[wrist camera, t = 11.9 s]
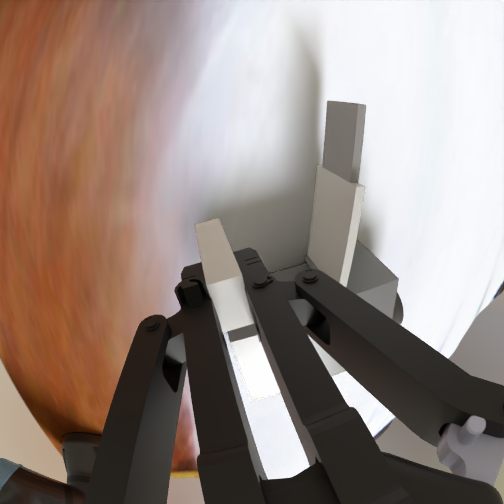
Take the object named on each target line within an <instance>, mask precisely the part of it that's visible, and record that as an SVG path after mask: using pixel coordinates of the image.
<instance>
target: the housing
mask: <svg viewBox="0 0 504 504" xmlns="http://www.w3.org/2000/svg"><path fill="white" fill-rule="evenodd" d="M306 269H311V268H310V266H309V265H308V264H307V263H305V264H302V265H298V266H295V267H291V268H288V269H284V270H280V271H277V272H273V273H270V274H269V275H272V276H273V277H274V278H275V279H276V280H277V281H295V276H296V275H297V274H298V273H299V272H301V271H303V270H306ZM398 280H399V279H398V278H397V277H396V276H395V275H394V274H393V273H392V272H391V271H390V270H389V269H388V268H387V267H386V266H385V265H384V264H383V263H382V262H381V261H380V260H379V259H378V258H377V257H376V256H375V255H373V254H372V253H371V252H370V251H369V250H368V249H367V248H366V247H365V246H364V245H363V244H362V243H361V242H359V241H358V240H356V244H355V249H354V254H353V259H352V264H351V269H350V273H349V278H348V282H347V286H346V288H348V289H349V290H350V291H352V292H353V293H355V294H356V295H358V296H359V297H361V298H362V299H364V300H365V301H366V302H368V303H369V304H371V305H372V306H374V307H375V308H377V309H378V310H379V311H381V312H382V313H384V314H385V315H387V316H388V317H390V318H391V319H392V320H394V321H395V322H397V323H398V324H401V323H402V320H403V306H402V302H401V299H400V297H399V295H398V293H397V287H398ZM227 332H228V336H229V340H230V344H231V347H232V350H233V353H234V355H235V358H236V361H237V364H238V367H239V370H240V373H241V375H242V378H243V381H244V384H245V387H246V389H247V392H248V395H249V398H250V400H251V402H252V401H256V400H259V399H263V398H267V397H270V396H273V395H277V394H280V393H281V392H280V390H279V387H278V385H277V382H276V380H275V377H274V375H273V372H272V369H271V367H270V364H269V362H268V359H267V357H266V354H265V352H264V349H263V346H262V344H261V342H259V339H258V335H257V331H256V327H255V323H254V324H251V325H247V326H244V327H241V328H237V329H234V330H231V331H227ZM307 335H308V334H307ZM308 336H309V335H308ZM309 338H310V340H311V342H312V344H313V345H314V347H315V349H316V351H317V352H318V354H319V356H320V358H321V359H322V361H323V363H324V365H325V366H326V368H327V370H328V372H329V373H330V375H331V376H333V375H336V374H339V373H341V372H344V371H346V370H345V369H344V368H343V367H342V366H340V365H339V364H338V363H337V362H336V361H335V360H334V359H333V358H332V357H331V356H330V355H329V354H328V353H327V352H326V351H325V350H323V349H322V348H321V347H320V346H319V345H318V344H317V343H316V342H315V341H314V340H313V339H312V338H311V337H310V336H309Z"/></svg>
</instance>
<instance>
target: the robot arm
mask: <svg viewBox="0 0 504 504" xmlns="http://www.w3.org/2000/svg"><path fill="white" fill-rule="evenodd" d="M195 230H196V236H197V241H198V246H199V251H200V257H201V263H197V264H194V265H190V266H187V267H184V269H183V271H182V273H181V278H182V282H180V283H179V284H178V285H177V286H176V287H175V294H176V296H177V298H178V301H179V303H180V306H181V309H180V311H179V312H177V313H176V314H175V315H173V316H171V317H169V318H168V319H166V318H165V317H164V316H162V315H152V316H149V317H147V318H145V319H144V320H143V321H142V322H141V323H140V325H139V326H138V329H137V331H136V334H135V336H134V339H133V342H132V345H131V347H130V350H129V353H128V356H127V358H126V361H125V364H124V367H123V370H122V373H121V376H120V379H119V382H118V385H117V388H116V391H115V394H114V397H113V400H112V403H111V406H110V409H109V413H108V416H107V419H106V422H105V426H104V429H103V433H102V436H99V435H94V434H87V433H70V434H67V435H65V436H63V438H62V444H61V450H62V453H63V459H64V463H65V467H66V471H67V484H65V483H62V482H60V481H57V480H54V479H52V478H49V477H47V476H44V475H42V474H39V473H37V472H35V471H32V470H30V469H28V468H25V467H23V466H22V465H21V464H16V463H14V462H11V461H9V460H7V459H4V458H0V504H167V496H168V488H169V480H170V472H171V465H172V458H173V451H174V444H175V437H176V430H177V424H178V417H179V411H180V405H181V399H182V393H183V387H184V381H185V375H186V370H187V369H188V377H189V385H190V392H191V399H192V405H193V412H194V418H195V424H196V430H197V436H198V442H199V447H200V455H199V456H198V457H197V466H198V472H199V477H200V482H201V487H202V492H203V497H204V501H205V504H503V501H502V498H501V496H500V494H499V492H498V491H497V490H496V488H494V487H493V486H494V483H495V481H496V478H497V475H498V472H499V470H500V467H501V464H502V461H503V458H504V386H503V385H500V384H496V383H493V382H490V381H487V380H484V379H480V378H477V377H474V376H471V375H469V374H468V373H466V372H465V371H464V370H462V369H461V368H459V367H458V366H457V365H455V364H454V363H453V362H451V361H450V360H449V359H447V358H446V357H444V356H443V355H442V354H440V353H439V352H438V351H436V350H435V349H433V348H432V347H431V346H429V345H428V344H426V343H425V342H424V341H422V340H421V339H419V338H418V337H417V336H415V335H414V334H412V333H411V332H409V331H408V330H407V329H405V328H404V327H402V326H401V325H400V324H398V323H397V322H395V321H394V320H392V319H391V318H390V317H388V316H387V315H385V314H384V313H382V312H381V311H379V310H378V309H377V308H375V307H374V306H372V305H371V304H369V303H368V302H366V301H365V300H364V299H362V298H361V297H359V296H358V295H356V294H355V293H353V292H352V291H350V290H349V289H348V288H346V287H345V286H343V285H342V284H340V283H339V282H337V281H336V280H334V279H333V278H331V277H330V276H328V275H327V274H325V273H324V272H322V271H320V270H318V269H306V270H303V271H301V272H299V273H298V274H297V275H296V276H295V281H277V280H276V279H275V278H274V277H273V276H272V275H269V273H268V271H267V269H266V268H265V266H264V264H263V262H262V261H261V259H260V257H259V255H258V253H257V252H256V251H255V250H253V249H251V248H247V249H243V250H240V251H236V252H232V249H231V247H230V244H229V242H228V239H227V237H226V234H225V232H224V229H223V227H222V225H221V222H220V220H219V218H216V219H212V220H209V221H205V222H202V223H198V224H195ZM254 323H255V327H256V331H257V335H258V339H259V342H261V344H262V346H263V349H264V352H265V354H266V357H267V359H268V362H269V364H270V367H271V369H272V372H273V375H274V377H275V380H276V382H277V385H278V387H279V390H280V392H281V395H282V397H283V400H284V402H285V405H286V407H287V410H288V412H289V414H290V417H291V419H292V422H293V424H294V427H295V429H296V432H297V434H298V436H299V439H300V441H301V444H302V446H303V448H304V451H305V453H306V456H307V459H308V462H309V465H310V467H309V468H307V469H305V470H304V471H302V472H301V473H299V474H297V475H296V476H294V477H291V478H284V479H270V480H268V479H267V476H266V474H265V472H264V469H263V466H262V463H261V460H260V457H259V454H258V451H257V447H256V444H255V441H254V438H253V435H252V431H251V428H250V425H249V422H248V418H247V415H246V412H245V408H244V405H243V402H242V398H241V395H240V391H239V388H238V384H237V381H236V377H235V374H234V370H233V366H232V363H231V359H230V355H229V352H228V348H227V344H226V341H225V338H224V335H223V333H224V332H227V331H231V330H234V329H237V328H241V327H244V326H247V325H251V324H254ZM307 334H308V335H309V336H310V337H311V338H312V339H313V340H314V341H315V342H316V343H317V344H318V345H319V346H320V347H321V348H322V349H323V350H325V351H326V352H327V353H328V354H329V355H330V356H331V357H332V358H333V359H334V360H335V361H336V362H337V363H338V364H339V365H340V366H342V367H343V368H344V369H345V370H346V371H347V372H348V373H349V374H350V375H351V376H352V377H353V378H354V379H356V380H357V381H358V382H359V383H360V384H361V385H362V386H363V387H364V388H365V389H366V390H367V391H369V392H370V393H371V394H372V395H373V396H374V397H375V398H376V399H377V400H378V401H379V402H380V403H382V404H383V405H384V406H385V407H386V408H387V409H388V410H389V411H390V412H391V413H393V414H394V415H395V416H396V417H397V418H398V419H399V420H400V421H401V422H403V423H404V424H405V425H406V426H407V427H408V428H409V429H410V430H411V431H413V432H414V433H415V434H416V435H418V436H419V437H420V438H421V439H423V440H425V441H426V442H428V443H430V444H432V445H433V446H436V447H437V455H438V458H439V461H440V462H441V464H444V465H446V466H448V467H449V468H450V470H451V471H452V473H453V474H451V473H447V472H444V471H441V470H437V469H434V468H431V467H428V466H424V465H421V464H418V463H415V462H412V461H409V460H407V459H404V458H401V457H398V456H395V455H392V454H390V453H385V452H381V451H380V449H379V447H378V445H377V444H376V442H375V440H374V438H373V437H372V435H371V433H370V431H369V430H368V428H367V426H366V424H365V423H364V421H363V419H362V417H361V416H360V414H359V413H358V411H357V410H356V409H355V408H354V407H349V406H348V405H347V403H346V402H345V400H344V398H343V397H342V395H341V393H340V391H339V389H338V388H337V386H336V384H335V382H334V381H333V379H332V377H331V375H330V373H329V372H328V370H327V368H326V366H325V365H324V363H323V361H322V359H321V358H320V356H319V354H318V352H317V351H316V349H315V347H314V345H313V344H312V342H311V340H310V338H309V336H308V335H307Z"/></svg>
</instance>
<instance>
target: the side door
mask: <svg viewBox="0 0 504 504" xmlns="http://www.w3.org/2000/svg"><path fill="white" fill-rule="evenodd" d="M365 112H366V105H363V104H356V103H347V102H337V101H327V113H326V127H325V141H324V153H323V164H317V172H316V183H315V193H314V203H313V212H312V221H311V230H310V238H309V246H308V254H307V255H306V257H305V261H306V262H307V264H308V265H309V266H310V268H311V269H318V270H320V271H322V272H324V273H325V274H327V275H328V276H330V277H331V278H333V279H334V280H336V281H337V282H339V283H340V284H342V285H343V286H345V287H346V286H347V282H348V278H349V273H350V269H351V264H352V259H353V254H354V249H355V244H356V239H357V234H358V228H359V223H360V217H361V211H362V205H363V199H364V192H365V186H363V185H361V184H359V183H358V178H359V171H360V163H361V154H362V145H363V135H364V124H365Z"/></svg>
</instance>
